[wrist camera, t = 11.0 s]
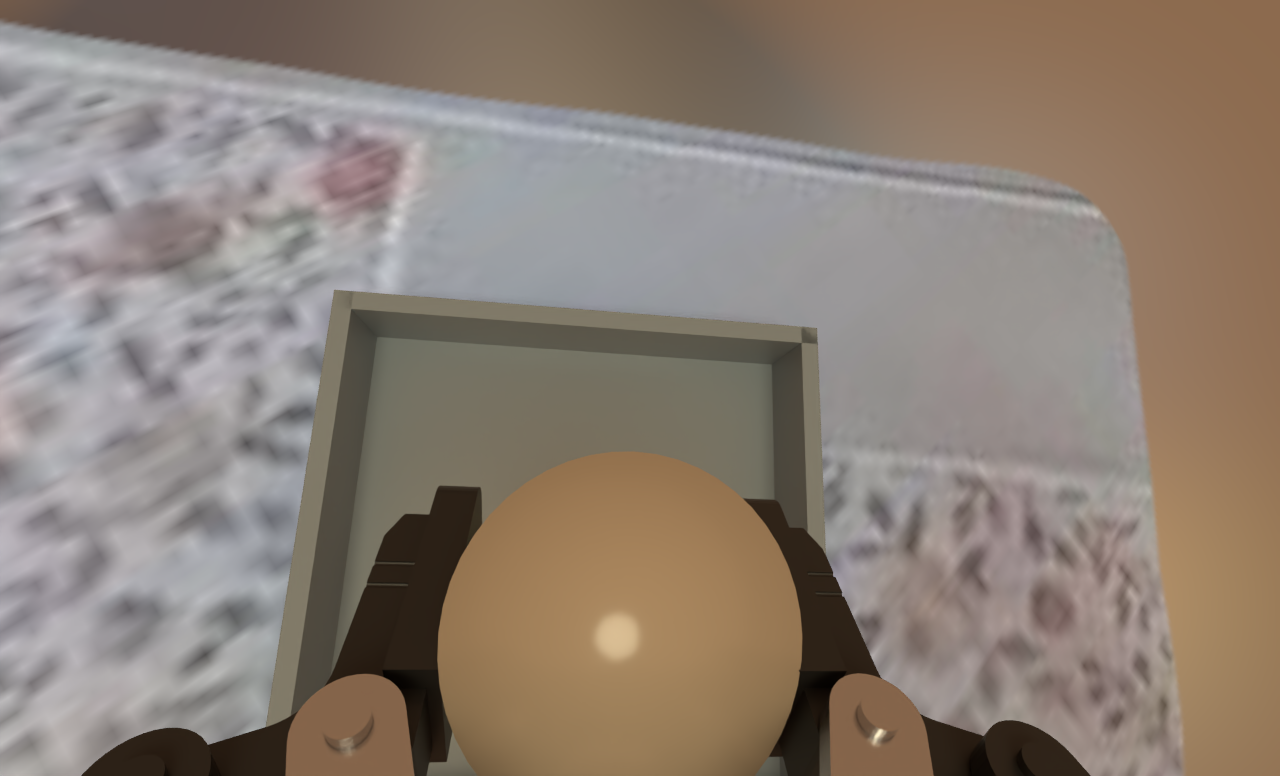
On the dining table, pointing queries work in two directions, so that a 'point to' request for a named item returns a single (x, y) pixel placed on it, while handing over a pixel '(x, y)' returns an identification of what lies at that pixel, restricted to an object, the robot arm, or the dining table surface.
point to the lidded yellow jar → (620, 627)
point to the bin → (524, 433)
